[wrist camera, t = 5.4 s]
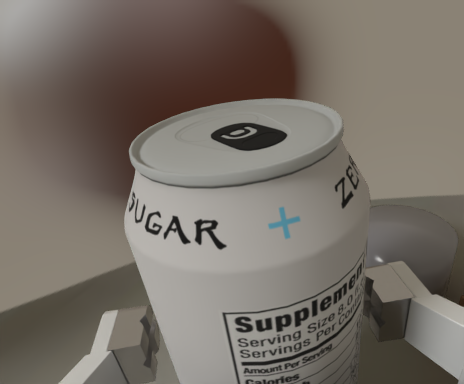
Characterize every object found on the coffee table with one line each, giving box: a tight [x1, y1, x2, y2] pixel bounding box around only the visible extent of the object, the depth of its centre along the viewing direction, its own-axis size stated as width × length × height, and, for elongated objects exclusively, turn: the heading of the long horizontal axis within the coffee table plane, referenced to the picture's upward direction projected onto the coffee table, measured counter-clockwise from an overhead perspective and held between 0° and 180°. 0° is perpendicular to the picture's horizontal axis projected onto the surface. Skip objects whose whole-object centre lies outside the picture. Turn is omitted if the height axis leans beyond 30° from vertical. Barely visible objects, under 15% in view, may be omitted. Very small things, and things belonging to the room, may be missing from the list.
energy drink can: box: [124, 99, 370, 384], centre depth 11 cm, size 6×6×15 cm
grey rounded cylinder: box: [366, 205, 458, 298], centre depth 22 cm, size 6×6×4 cm
